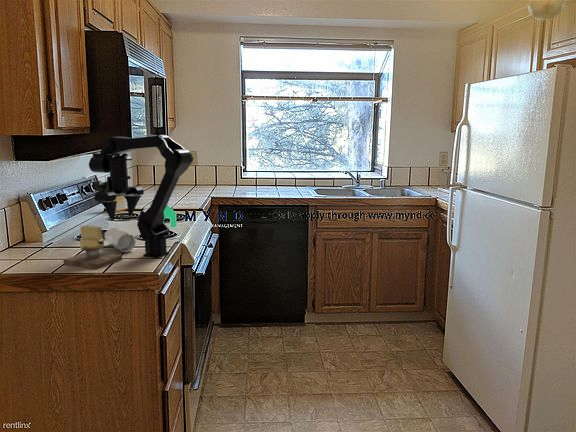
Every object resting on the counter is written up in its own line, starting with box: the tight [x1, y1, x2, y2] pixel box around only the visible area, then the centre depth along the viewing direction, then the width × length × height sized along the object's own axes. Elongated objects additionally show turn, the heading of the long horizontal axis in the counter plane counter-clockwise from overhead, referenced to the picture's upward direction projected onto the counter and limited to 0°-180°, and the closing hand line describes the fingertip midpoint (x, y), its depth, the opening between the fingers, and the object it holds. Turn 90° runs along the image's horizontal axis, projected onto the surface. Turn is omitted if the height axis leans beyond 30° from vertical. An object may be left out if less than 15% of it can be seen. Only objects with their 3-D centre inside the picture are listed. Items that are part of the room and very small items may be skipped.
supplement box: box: [114, 195, 127, 213], centre depth 240 cm, size 8×5×13 cm, turn 149°
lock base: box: [62, 249, 123, 270], centre depth 150 cm, size 14×11×4 cm
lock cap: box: [79, 225, 105, 252], centre depth 149 cm, size 8×7×7 cm
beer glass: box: [104, 227, 137, 253], centre depth 168 cm, size 7×7×15 cm
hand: (121, 217), depth 162 cm, fingers open, 9 cm apart
